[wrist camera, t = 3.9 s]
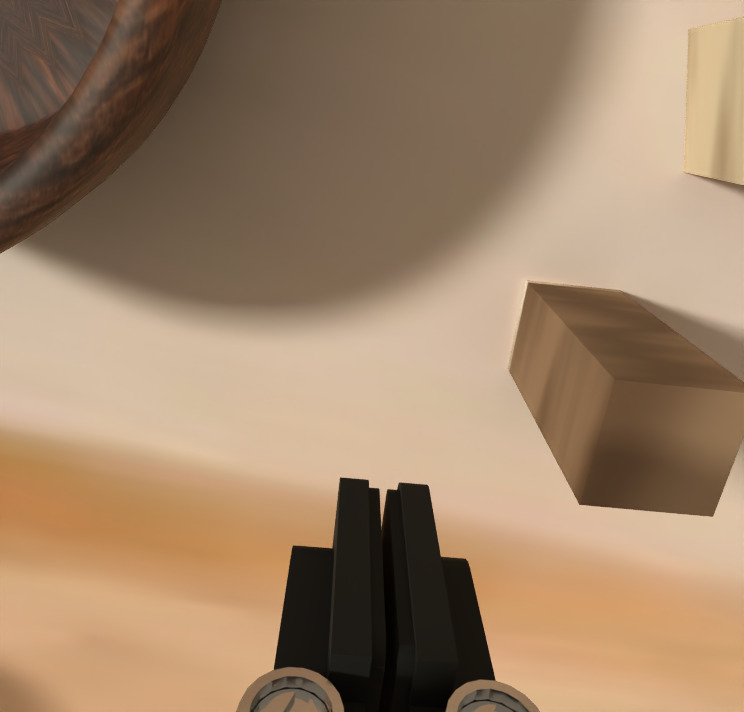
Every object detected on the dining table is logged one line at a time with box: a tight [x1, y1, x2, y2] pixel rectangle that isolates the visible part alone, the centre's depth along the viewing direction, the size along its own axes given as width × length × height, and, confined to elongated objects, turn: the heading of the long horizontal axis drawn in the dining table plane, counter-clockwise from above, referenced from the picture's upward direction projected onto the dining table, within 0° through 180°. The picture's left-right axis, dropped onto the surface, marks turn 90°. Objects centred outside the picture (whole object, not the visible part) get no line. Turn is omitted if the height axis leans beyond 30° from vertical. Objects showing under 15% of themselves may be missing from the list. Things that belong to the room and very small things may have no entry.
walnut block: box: [508, 281, 744, 517], centre depth 22 cm, size 4×4×10 cm
